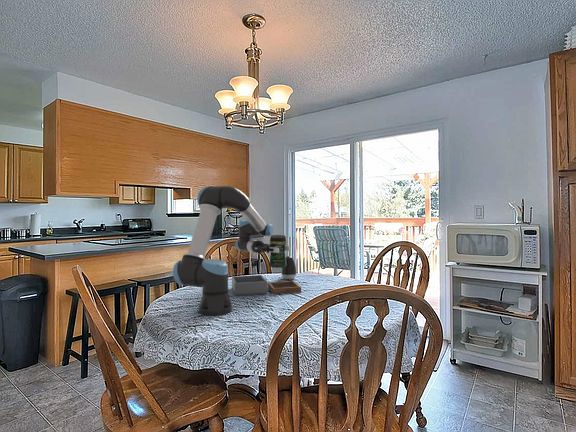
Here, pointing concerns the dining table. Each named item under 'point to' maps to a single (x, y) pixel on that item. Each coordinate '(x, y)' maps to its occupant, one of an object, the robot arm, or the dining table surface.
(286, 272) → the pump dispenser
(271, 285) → the holder frame
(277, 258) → the coffee jar
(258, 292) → the box
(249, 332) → the dining table surface
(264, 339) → the dining table surface
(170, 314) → the dining table surface
